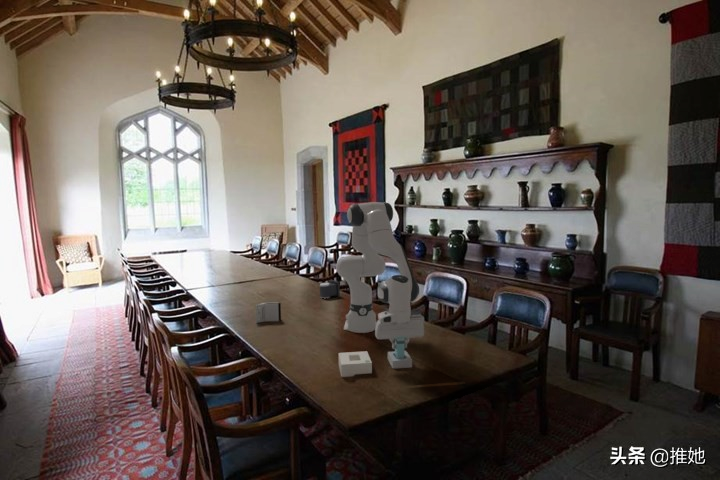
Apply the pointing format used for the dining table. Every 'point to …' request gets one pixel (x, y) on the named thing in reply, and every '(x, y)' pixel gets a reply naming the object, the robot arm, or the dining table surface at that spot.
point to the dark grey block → (329, 289)
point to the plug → (399, 347)
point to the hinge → (268, 312)
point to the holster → (400, 360)
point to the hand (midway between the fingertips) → (399, 347)
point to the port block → (354, 363)
